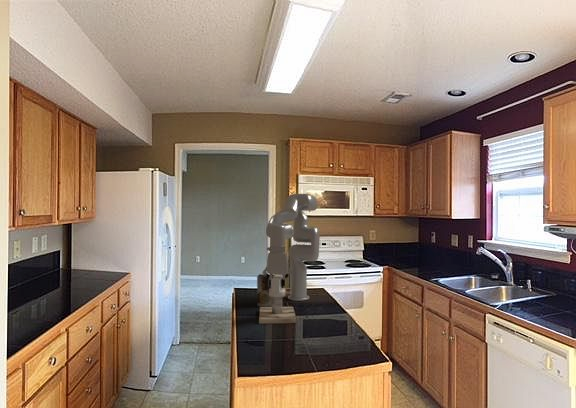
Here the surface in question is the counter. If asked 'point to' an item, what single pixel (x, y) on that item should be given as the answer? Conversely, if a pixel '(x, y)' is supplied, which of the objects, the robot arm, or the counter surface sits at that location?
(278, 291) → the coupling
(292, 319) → the post base
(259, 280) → the coffee box
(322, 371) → the counter surface
